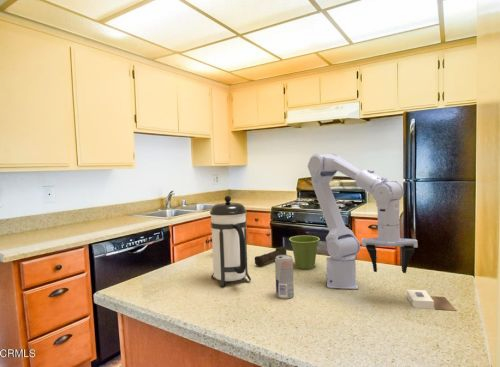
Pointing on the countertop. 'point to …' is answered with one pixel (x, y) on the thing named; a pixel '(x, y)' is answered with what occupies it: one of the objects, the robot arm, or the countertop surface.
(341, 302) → the countertop surface
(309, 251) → the plant pot
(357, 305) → the countertop surface
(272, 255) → the hand tool
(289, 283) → the energy drink
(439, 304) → the brown flat slab
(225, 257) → the coffee press
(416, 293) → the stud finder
